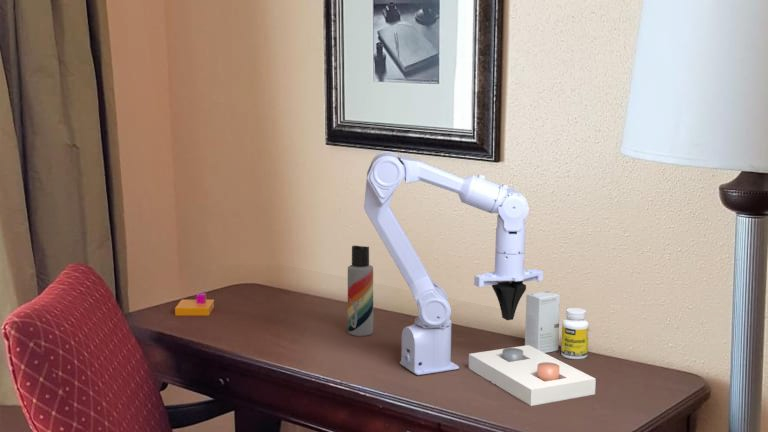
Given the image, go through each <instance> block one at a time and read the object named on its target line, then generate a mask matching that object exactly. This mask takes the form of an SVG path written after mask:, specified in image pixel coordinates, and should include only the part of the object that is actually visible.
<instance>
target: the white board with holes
mask: <svg viewBox="0 0 768 432" xmlns="http://www.w3.org/2000/svg"><path fill="white" fill-rule="evenodd" d="M507 348H508V347H507ZM507 348H501V349H500V348H499V349H493V350H487V351H486V350H485V351H479V352H474V353H473V352H472V353H468V369H469V370H471V371H472V372H474V373H476V374H477V375H479V376H480V377H482V378H484V379H485V380H487V381H489V382H490V381H491V382H490V383H492V384H494V385H495V384H496V385H495V386H497V387H499V388H500V389H502V390H504V391H506V392H507V393H508V394H511V395H512V396H514V397H515V398H517V399H518V400H520V401H522V402H523V403H526V404H527V405H529V406H530V407H533V406H538V405H544V404H549V403H554V402H560V401H565V400H570V399H571V400H572V399H577V398H581V397H582V398H583V397H588V396H593V395H596V383H597V382H596V378H595V377H593V376H591V375H590V374H587V373H586V372H583V371H582V370H580V369H577V368H575V367H573V366H571V365H570V364H567V363H566V362H563V361H561V360H560V359H557V358H555V357H553V356H551V355H549V354H548V353H543V352H541V351H539V350H537V349H535V348H533V347H531V346H529V345H526V346H525V345H521V346H515V347H513V346H511V348H517V349H520V350H522V351H523V360H519V361H513V362H508V361H506V360H504V359H502V356H503V350H504V349H507ZM545 362H548V363H555V364H557V365H559V379H558V380H552V381H546V382H544V381H542V380H540V379H539V378H537V365H538V364H539V363H545Z"/></svg>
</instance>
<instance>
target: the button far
mask: <svg viewBox="0 0 768 432" xmlns="http://www.w3.org/2000/svg"><path fill="white" fill-rule="evenodd" d="M503 349H504V350H503V356H502V359H504V360H506V361H508V362H513V361H519V360H523V351H522V350H520V349H517V348H512V347H507V349H506V348H503Z"/></svg>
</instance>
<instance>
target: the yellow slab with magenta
mask: <svg viewBox="0 0 768 432" xmlns="http://www.w3.org/2000/svg"><path fill="white" fill-rule="evenodd" d="M195 298H196V299H181V300H180V301H179V302H178V304H177V305H176V306H175V307H174V316H210V314H211V313H212V311H213V309H214V307H215V299H207V293H206V292H202V293H199V292H198V293H197V294H196V297H195Z"/></svg>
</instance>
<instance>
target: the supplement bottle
mask: <svg viewBox="0 0 768 432" xmlns="http://www.w3.org/2000/svg"><path fill="white" fill-rule="evenodd" d="M565 317H566V318H565V319H563V320H562V323H561V325H562V326H561V340H560V342H561V343H560V344H561V348H560V355H561V356H562V357H563V358H565V359H570V360H584V359H585V358H587V357H588V353H589V351H588V349H589V348H588V347H589V333H590V332H589V331H590V330H589V328H590V325H589V324H590V323H589V322H588V321H587V320H586V318H587V310H586V309H584V308H580V307H569V308H567V309H566V312H565Z"/></svg>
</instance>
